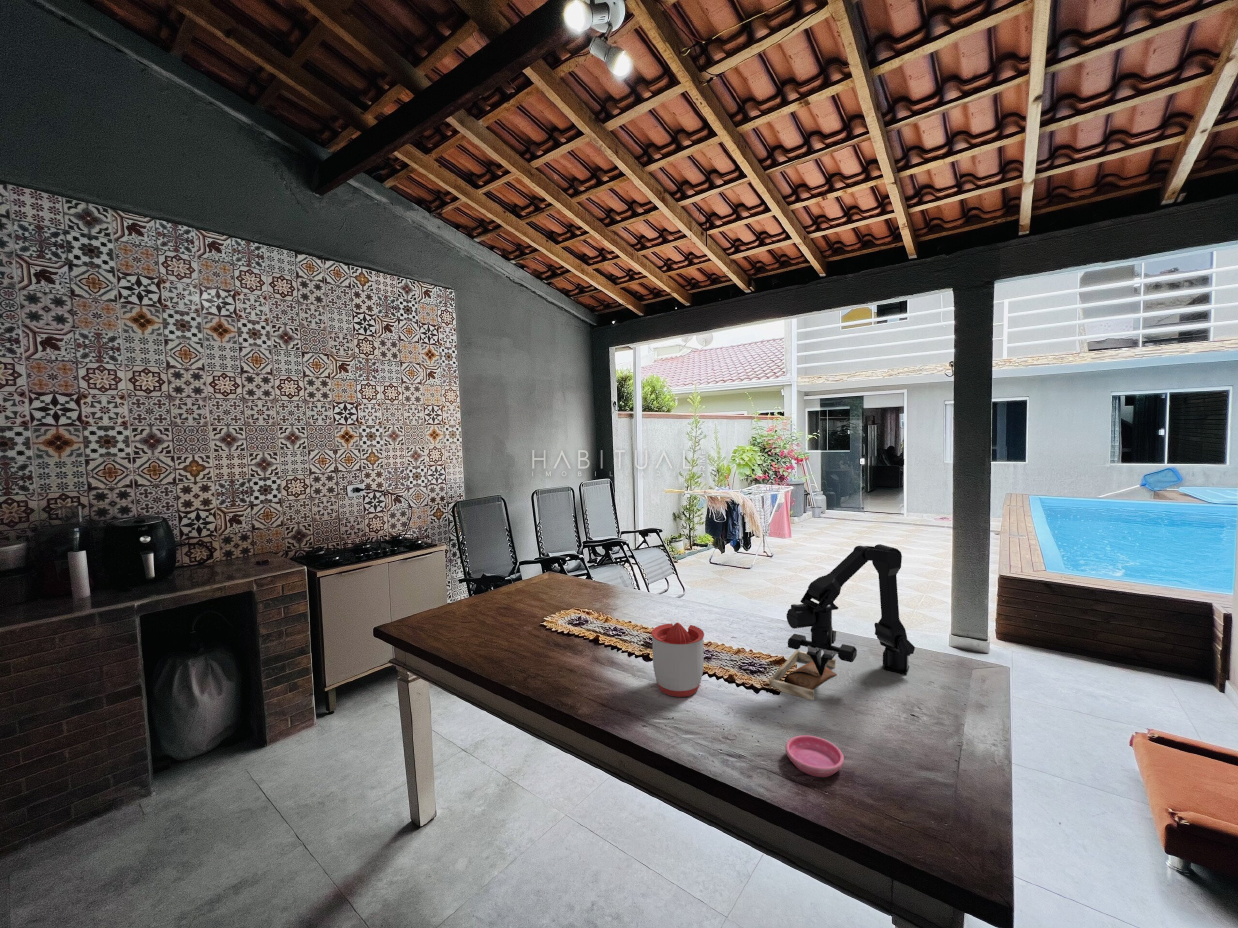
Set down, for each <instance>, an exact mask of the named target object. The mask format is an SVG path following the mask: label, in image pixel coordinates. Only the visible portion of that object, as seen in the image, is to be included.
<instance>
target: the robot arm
mask: <svg viewBox="0 0 1238 928" xmlns="http://www.w3.org/2000/svg"><path fill="white" fill-rule="evenodd" d="M902 559H903V556H902V552H901V550H899V549H898V548H896V547H892V546H889V545H886V544H885V545H884V544H882V543H881V544H879V543H878V544H875V546H871V545H857V546H856V545H855V547H854V548H853V551H852V552H850V554H848V555H847V556H846V557H845V558H844V559H842V561H840V563H839V564H838V565H836V566H835V568H833V569H832V570H831V571H830V572H829V573H828V574H827V573H826V574H824V575H822V576H819V577H818V578H816V579H815V580H813V581H811V582H810V584H809V585H808V587H807V590H806V592H805V593H804V595H803V597H802V598H801V600H800V604H795V603H793V604H791V605H790V608H789V609H788V610H787V613H786V621H787V624H788V625H789V627H790V628H792V629H793V630H795V629H801V628H810V627H811V628H810V633H811V634H810V637H811V639H810V640H807V637H806V635H803V634H798V633H793V634H792V635H790V637H789V638H788V639H787V648H789V649H792V650H795V651H796V650H798V651H799V649H800V648H801V646H802V647H805V648H807V651H806V652H807V655H810V657H811V658H812V660H813V662H814V664H815V666H816V668H817V670H818V672H819V675H823V673H824V671H825V668H826V667H827V666H826V665H827V663H828V661H829V660H832V659H835V658H834V657H835V656H836V654H837V658H839V660H841V661H843V662H848V663H854V661H855V660H856V657H857V656H858V655H857V654H858V650H857V647H855V646H854V645H850V644H849V645H848V644H844V643H842V644H841V645H840V646H837V645H833V644H835V642H836V638H837V631H836V630H833V623H832V622H833V621H832V620H833V617H832V616H833V611H836V610H839V606H837V605H836V604H835V603H834V602H835V600H837V598H838V596H839V595H840V594H841V590H842V588H843V586H844V585H845V584H846V582H848V581H849V580H850V579H851V578H852V577H853V576H854V575H855V574H856V573H857V572H858V571H859V570H860V569H862V568H863V567H864V565H866V564H867V563H868V562H869V561H871V562H872V566H873V567H874V569H875V570H876V572H877V574H878V586H879V587H878V588H879V599H880V600H879V602H880V612H881V613H880V615H881V616H880V619H879V621H878V622H875V623H874V635H875V636H876V638H877V640H878V641H879V644H880V646H882V647H884V650H883V652H882V665H883V670H885V671H890V672H894V673H898V674H903V675H908V672H909V670H910V665H909V656H910V657H911V655H913V654H914V652H915V649H916V647H915V645H914V644H912V643H911V642H910V640H909V639H908V635H907V630H906V628H905V626H904V624H903V623H902V621H901V619H900V612H899V610H900V609H899V596H898V580H897V574H898V573H899V571H900V569H901V568H902ZM814 600H815V601H816V602H815V601H814ZM822 651H823V654H822Z"/></svg>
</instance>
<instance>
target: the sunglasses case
mask: <svg viewBox="0 0 1238 928" xmlns="http://www.w3.org/2000/svg"><path fill="white" fill-rule="evenodd" d="M837 676H838V674H837V673H835V672H834V671H833V670H831V669H830V667H828V666H826V668H825V671H824V673H823V675H819V672H818V670H817V668H816V666H815V664H814V662H813V661H811V662H807V663H805V664H803V665H802V666H800V667H798V668H796V669H794V670H793V671H792V672H789V673H787V674H786V675H785V677H784V681H783V682H786V683H789V684H793V685H796V686H800V687H804V688H807V689H811V690H814V691H815V689H816V688H818V687H820V686H821V685H822V684H824V683H825V682H827V681H829V680H830V679H833V678H834V677H837Z"/></svg>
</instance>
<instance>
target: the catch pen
mask: <svg viewBox="0 0 1238 928" xmlns="http://www.w3.org/2000/svg"><path fill="white" fill-rule="evenodd" d="M807 652H808V651H803V650H799V649H798V650H796V649H795V650H794V652H793V653H792V654H791V656H789V658H788V659H787V660H785V662H784V663H783V664H782V665H781V666H780V668H778V670H777V671H776V672H775V673H774V674H773V675H772V676H771V677H770V679H769V688H770V687H773V688H776V689H779V690H780V691H779V690H778V691H779V692H783V693H786V694H790V695H793V696H797V697H799V698H804V699H807V700H809V701H814V699H815V689H814V690H811V689H807V688H804V687H800V686H796V685H793V684H789V683H786V682H784V681H781V680H782V679H783V678H784V676H786V675H787V673H788V672H789V671H788V670H791V668H792V667H793V666H794V665H795V664H796V663H797V662H798V660H799V661H805V662H807V663H809V662H811V661H813V660H812V658H811V657H810V655H807ZM836 660H837V659H836V658H833V659H832V660H829V661H828V663H827V665H826V667H828V668H833V669H836V665H837V663H836ZM787 671H788V672H787ZM786 672H787V673H786ZM782 677H783V678H782ZM781 678H782V679H781ZM780 679H781V680H780ZM779 680H780V681H779Z"/></svg>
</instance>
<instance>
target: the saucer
mask: <svg viewBox="0 0 1238 928" xmlns="http://www.w3.org/2000/svg"><path fill="white" fill-rule="evenodd" d="M785 753H786V755H787V758H788V759H789V761H791V763H792V764H793V765H794V766H795V767H796V768H797V769H798V770H799V771H801V772H802V773H804V774H807V775H809V776H812V777H816V778H825V777H826V778H827V777H830V776H832V775H834V774H836V773H837V772H839V771H840V770H841V769H842V768H843V766H844V763H845V756H844V754H843V752H842V751H841V749H840V748H839V747H838V746H837V745H835V744H834V743H833V742H830V741H829V740H827V739H825V738H822V737H819V736H815V735H806V734H805V735H803V734H802V735H797V736H793V737H791V738H789V739H788V740H787V742H786V744H785Z"/></svg>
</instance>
